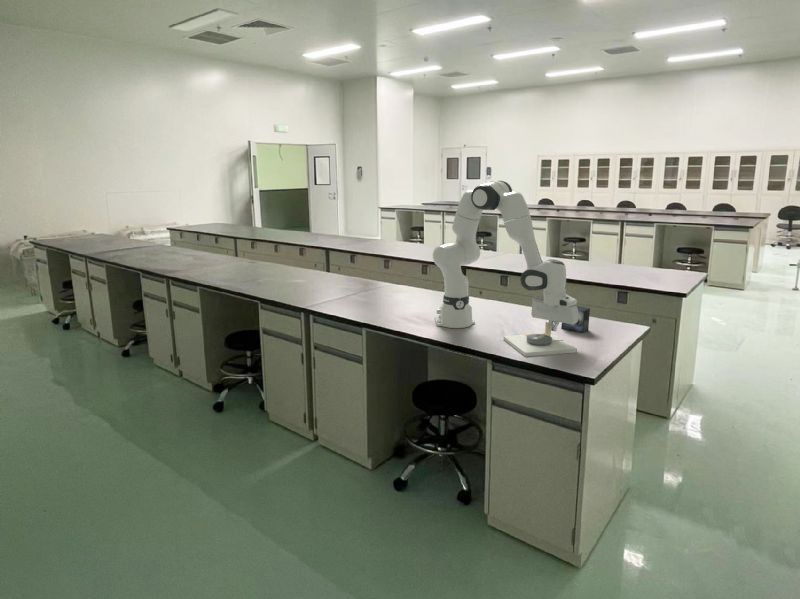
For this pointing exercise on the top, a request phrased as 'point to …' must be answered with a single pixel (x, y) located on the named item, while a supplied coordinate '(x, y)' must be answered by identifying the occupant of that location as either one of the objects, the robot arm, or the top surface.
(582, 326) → the small box
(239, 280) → the top surface
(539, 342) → the dial
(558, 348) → the dial plate
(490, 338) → the top surface
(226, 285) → the top surface
